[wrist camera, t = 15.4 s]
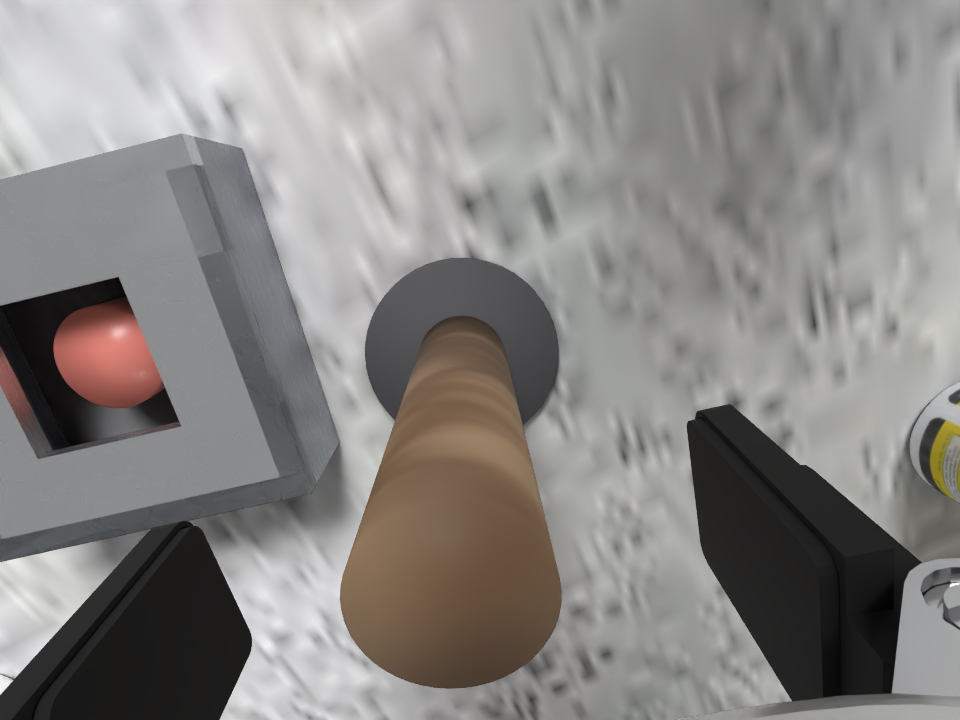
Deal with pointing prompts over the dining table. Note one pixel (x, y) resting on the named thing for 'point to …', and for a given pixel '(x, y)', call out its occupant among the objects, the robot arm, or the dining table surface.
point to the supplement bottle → (939, 443)
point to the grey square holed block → (157, 347)
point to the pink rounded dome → (106, 355)
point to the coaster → (462, 294)
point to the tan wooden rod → (454, 526)
